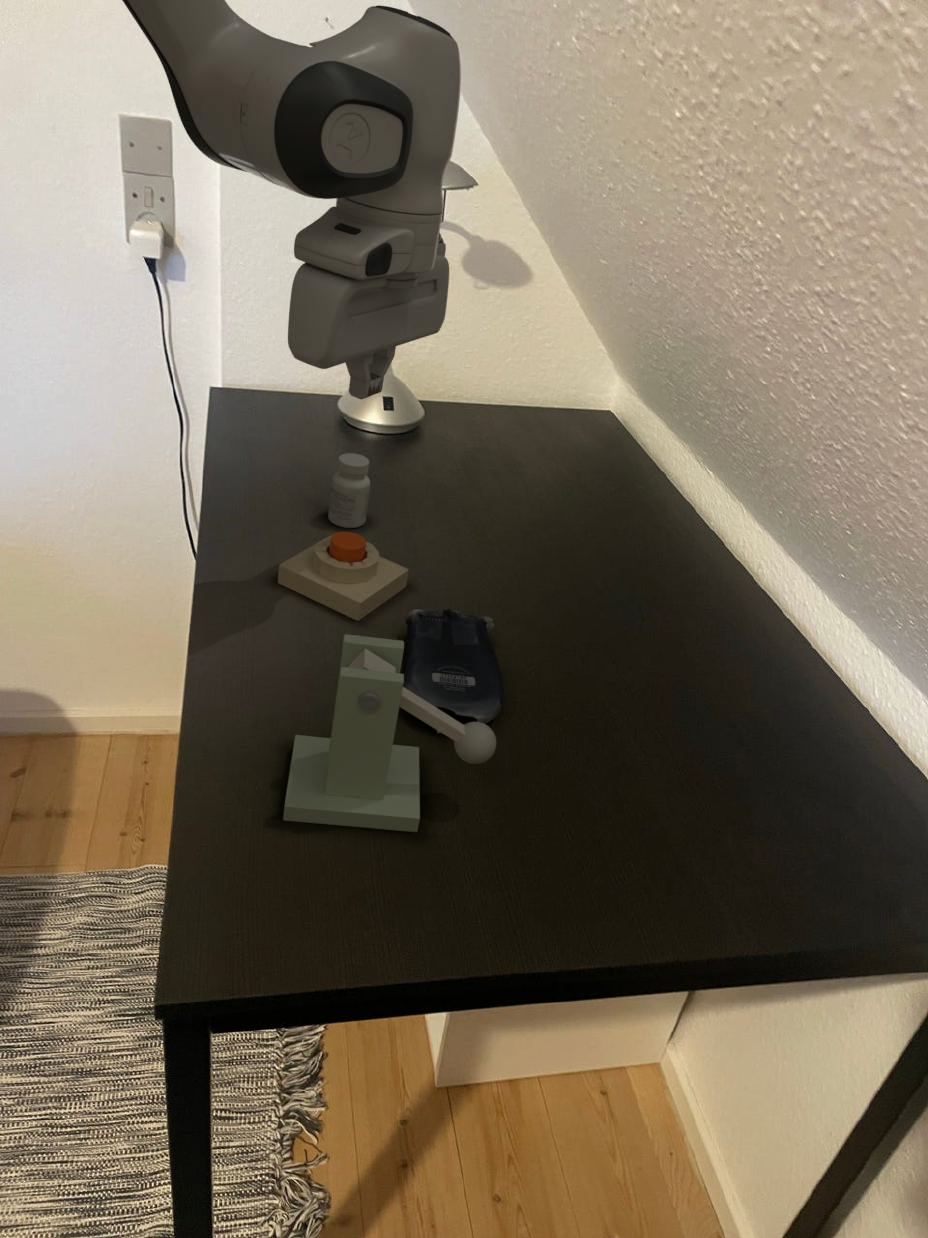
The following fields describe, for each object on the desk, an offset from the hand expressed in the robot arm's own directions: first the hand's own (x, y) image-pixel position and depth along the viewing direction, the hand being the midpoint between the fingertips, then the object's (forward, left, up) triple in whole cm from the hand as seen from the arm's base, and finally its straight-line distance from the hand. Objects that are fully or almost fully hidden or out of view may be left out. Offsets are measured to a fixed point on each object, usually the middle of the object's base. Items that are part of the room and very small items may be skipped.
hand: (365, 394), depth 87 cm
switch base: (+18, -24, -21) cm, 36 cm away
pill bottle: (-8, +12, -21) cm, 25 cm away
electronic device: (+17, -7, -21) cm, 28 cm away
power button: (0, 0, -17) cm, 17 cm away
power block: (0, 0, -21) cm, 21 cm away
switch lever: (+21, -22, -14) cm, 33 cm away
